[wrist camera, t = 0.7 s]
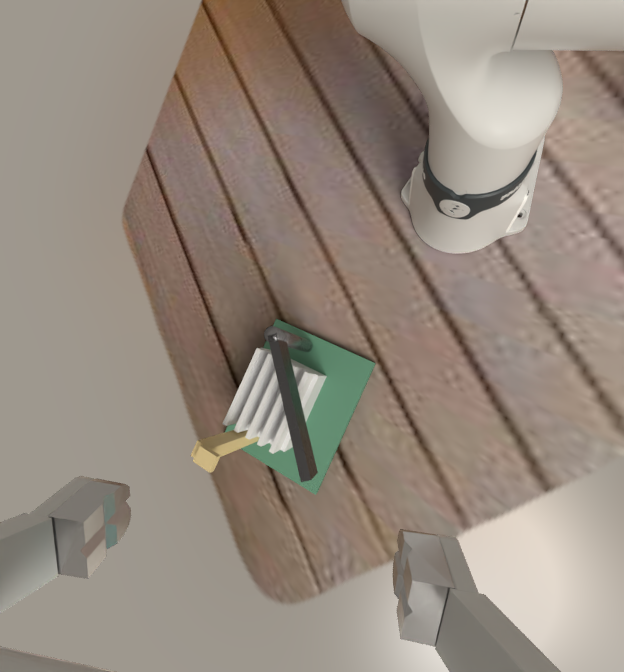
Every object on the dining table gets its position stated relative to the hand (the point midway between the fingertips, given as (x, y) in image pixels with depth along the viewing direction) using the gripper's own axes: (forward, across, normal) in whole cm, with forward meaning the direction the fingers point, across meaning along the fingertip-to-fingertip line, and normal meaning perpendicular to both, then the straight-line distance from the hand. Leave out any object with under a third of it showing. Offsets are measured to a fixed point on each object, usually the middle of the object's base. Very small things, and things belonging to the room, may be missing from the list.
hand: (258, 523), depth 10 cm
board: (+42, +4, +16) cm, 45 cm away
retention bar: (+40, +1, +13) cm, 42 cm away
